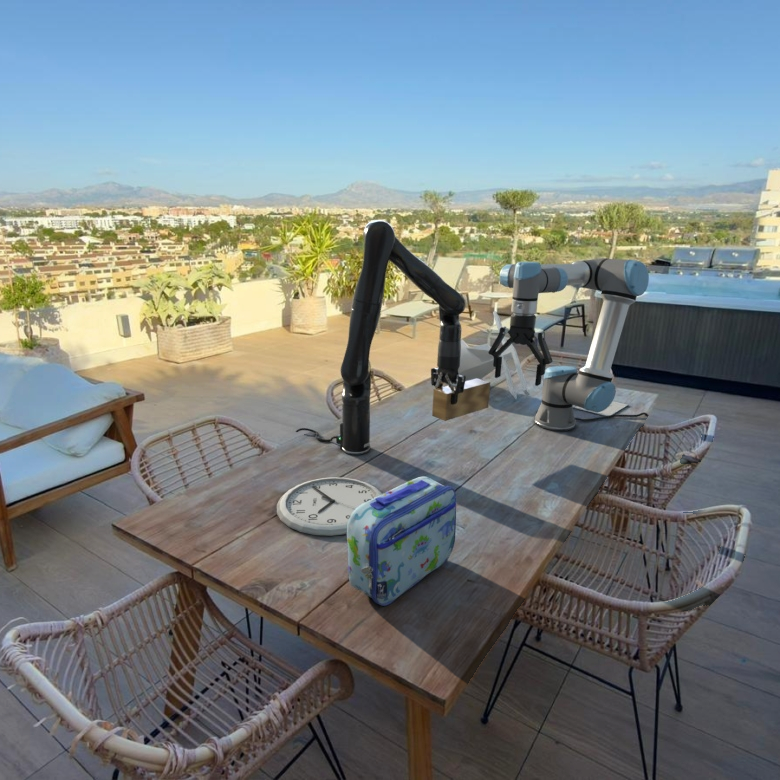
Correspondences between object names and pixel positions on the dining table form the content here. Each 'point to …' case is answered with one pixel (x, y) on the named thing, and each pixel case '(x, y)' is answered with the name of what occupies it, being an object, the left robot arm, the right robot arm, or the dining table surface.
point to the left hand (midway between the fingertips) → (446, 401)
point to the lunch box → (400, 538)
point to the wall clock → (324, 504)
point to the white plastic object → (489, 362)
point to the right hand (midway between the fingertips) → (517, 380)
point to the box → (461, 400)
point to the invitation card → (608, 409)
